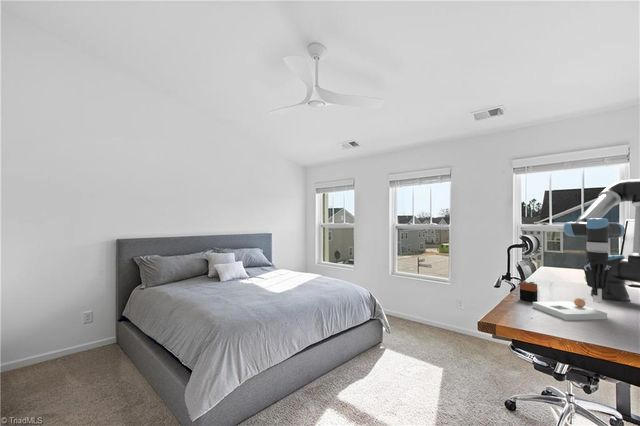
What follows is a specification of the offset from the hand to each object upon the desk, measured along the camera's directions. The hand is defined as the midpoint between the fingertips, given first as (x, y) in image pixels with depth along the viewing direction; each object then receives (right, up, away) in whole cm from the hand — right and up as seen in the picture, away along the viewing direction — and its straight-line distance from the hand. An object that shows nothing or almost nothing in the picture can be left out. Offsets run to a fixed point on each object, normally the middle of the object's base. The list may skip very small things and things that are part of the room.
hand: (597, 302), depth 137 cm
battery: (-19, -5, +19) cm, 27 cm away
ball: (-9, 0, -1) cm, 9 cm away
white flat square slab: (-15, -5, -1) cm, 15 cm away
